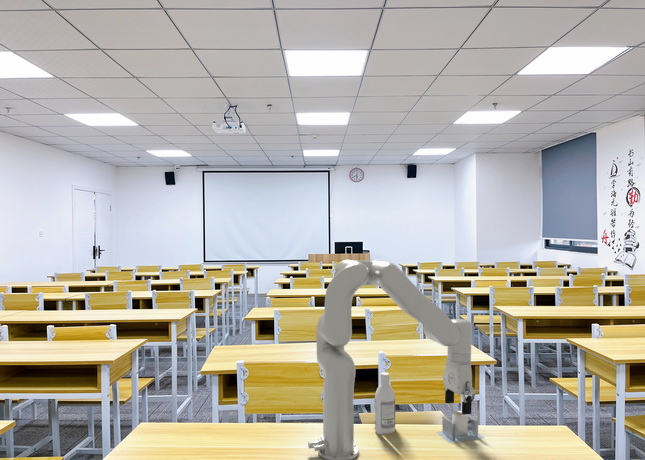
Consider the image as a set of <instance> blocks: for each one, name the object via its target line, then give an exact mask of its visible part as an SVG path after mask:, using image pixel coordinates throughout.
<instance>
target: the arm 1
mask: <svg viewBox="0 0 645 460" xmlns="http://www.w3.org/2000/svg"><path fill="white" fill-rule="evenodd" d="M441 427H442V431H443V434H445V435H446V436H447V437H448V438H450V439H451V440H452V441H455V423H454V422H453V421H452V419H450V418H448V417H447V416H446V415H444V416H442V425H441Z"/></svg>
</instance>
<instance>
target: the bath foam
mask: <svg viewBox="0 0 645 460" xmlns="http://www.w3.org/2000/svg"><path fill="white" fill-rule="evenodd" d="M374 430H375V433H376V434H378V435H381V436H384V435H385V434H392V433H394V432H396V394H395V391H394V390H393V388H392V386H391V384H390V373H389V372H381V373H380V384H379V386H378V387H377V388H376V391H375V394H374Z"/></svg>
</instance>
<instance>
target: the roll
mask: <svg viewBox="0 0 645 460" xmlns="http://www.w3.org/2000/svg"><path fill="white" fill-rule="evenodd" d="M451 421H453V422H454V423H455V437H460V436H467V435H468V414H466V415H463V414H462V410H454V411H452V413H451Z"/></svg>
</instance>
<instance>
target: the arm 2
mask: <svg viewBox="0 0 645 460" xmlns="http://www.w3.org/2000/svg"><path fill="white" fill-rule="evenodd" d="M468 432H469V433H470V434H472V435H475V437H478V433H479V420H478V419H477V418H475V417H473V416H472V415H471V414H468Z"/></svg>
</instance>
